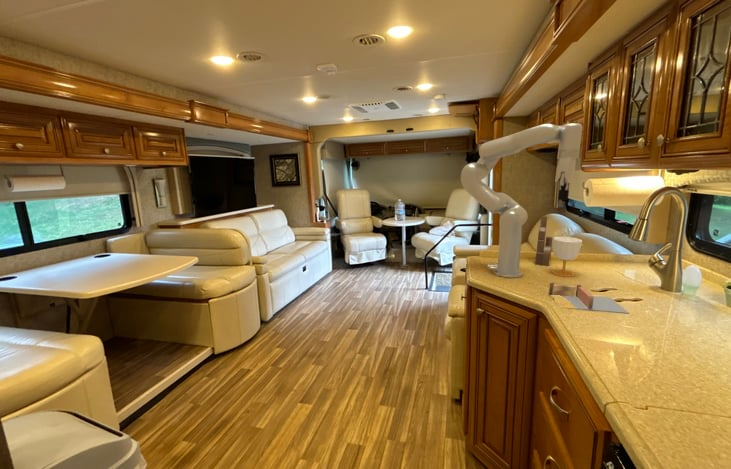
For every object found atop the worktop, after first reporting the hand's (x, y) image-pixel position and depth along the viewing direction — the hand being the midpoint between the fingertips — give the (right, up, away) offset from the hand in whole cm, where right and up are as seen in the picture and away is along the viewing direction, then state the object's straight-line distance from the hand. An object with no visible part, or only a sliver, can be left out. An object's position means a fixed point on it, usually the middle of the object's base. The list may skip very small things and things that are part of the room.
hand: (563, 199), depth 140 cm
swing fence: (-1, -40, -16) cm, 43 cm away
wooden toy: (+12, -30, +39) cm, 51 cm away
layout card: (0, -41, -14) cm, 43 cm away
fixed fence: (-4, -39, -8) cm, 40 cm away
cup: (+12, -34, +19) cm, 41 cm away
